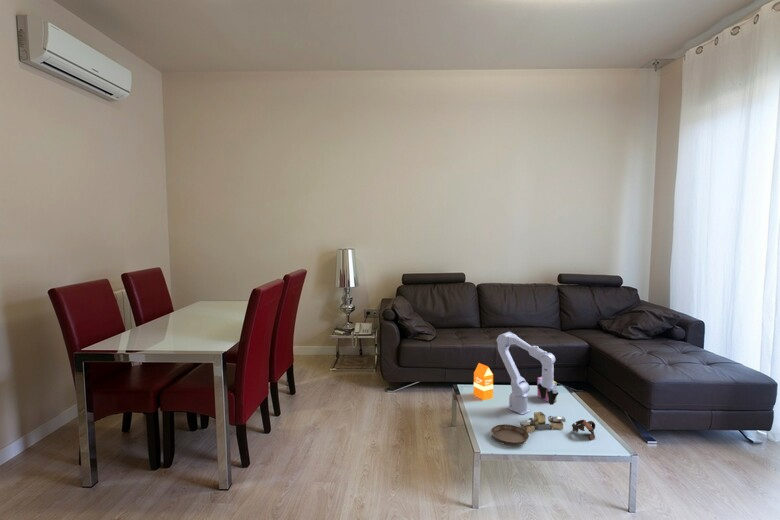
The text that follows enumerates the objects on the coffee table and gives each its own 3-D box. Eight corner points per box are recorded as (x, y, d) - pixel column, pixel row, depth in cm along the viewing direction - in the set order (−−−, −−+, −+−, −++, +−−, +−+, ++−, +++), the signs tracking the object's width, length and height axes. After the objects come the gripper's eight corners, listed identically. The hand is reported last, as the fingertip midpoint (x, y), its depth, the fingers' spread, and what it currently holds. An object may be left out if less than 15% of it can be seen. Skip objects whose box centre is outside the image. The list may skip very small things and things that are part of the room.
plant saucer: (489, 428, 196) (489, 422, 196) (525, 431, 194) (525, 425, 193) (492, 447, 179) (492, 440, 179) (532, 450, 176) (532, 443, 176)
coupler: (536, 427, 195) (536, 416, 195) (532, 424, 199) (532, 412, 199) (546, 426, 196) (546, 415, 196) (542, 422, 200) (542, 411, 200)
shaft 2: (550, 428, 195) (550, 418, 195) (547, 424, 199) (547, 414, 199) (566, 429, 195) (566, 418, 194) (562, 425, 199) (563, 414, 199)
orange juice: (483, 400, 229) (483, 368, 228) (473, 395, 237) (473, 363, 236) (493, 398, 233) (493, 365, 232) (483, 393, 241) (483, 361, 240)
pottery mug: (589, 443, 182) (579, 426, 184) (574, 443, 190) (565, 427, 192) (604, 431, 187) (595, 415, 189) (589, 431, 195) (580, 416, 197)
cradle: (537, 430, 194) (537, 425, 193) (530, 423, 201) (530, 418, 200) (549, 429, 195) (549, 424, 195) (541, 422, 202) (541, 417, 202)
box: (536, 396, 235) (537, 377, 235) (544, 395, 237) (545, 376, 237) (548, 403, 226) (549, 383, 225) (556, 401, 227) (557, 382, 227)
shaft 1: (529, 426, 198) (529, 415, 197) (536, 430, 194) (536, 419, 193) (518, 430, 194) (518, 419, 194) (524, 433, 190) (524, 422, 190)
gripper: (562, 380, 198) (562, 406, 199) (546, 371, 212) (546, 395, 213) (550, 381, 197) (549, 407, 197) (535, 372, 211) (534, 396, 212)
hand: (547, 401), depth 205 cm, fingers open, 7 cm apart
